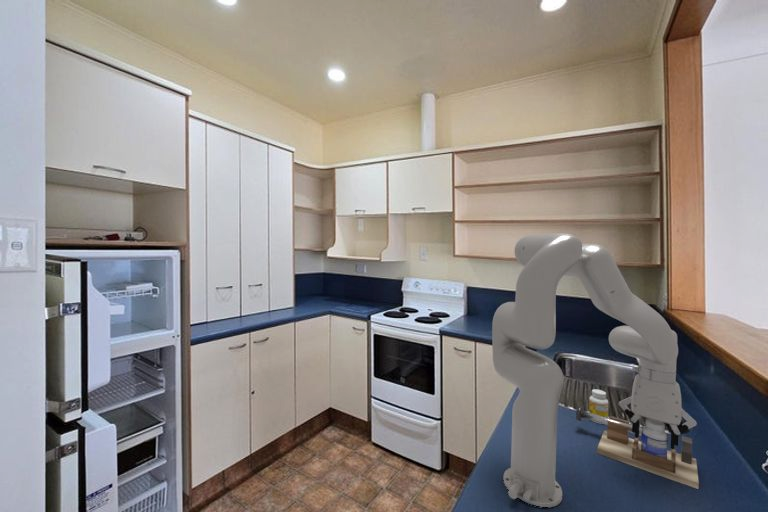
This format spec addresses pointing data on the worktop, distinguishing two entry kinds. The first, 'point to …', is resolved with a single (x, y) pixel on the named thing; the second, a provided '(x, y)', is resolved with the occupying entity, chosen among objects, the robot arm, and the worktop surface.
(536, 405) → the robot arm
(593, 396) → the supplement bottle
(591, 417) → the steel shaft
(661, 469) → the shaft bracket
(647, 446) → the pill bottle
